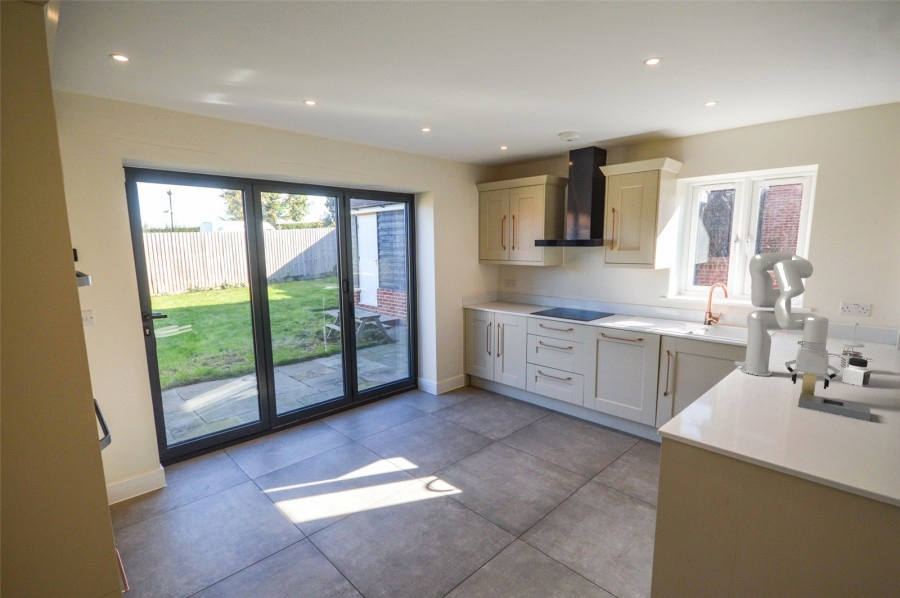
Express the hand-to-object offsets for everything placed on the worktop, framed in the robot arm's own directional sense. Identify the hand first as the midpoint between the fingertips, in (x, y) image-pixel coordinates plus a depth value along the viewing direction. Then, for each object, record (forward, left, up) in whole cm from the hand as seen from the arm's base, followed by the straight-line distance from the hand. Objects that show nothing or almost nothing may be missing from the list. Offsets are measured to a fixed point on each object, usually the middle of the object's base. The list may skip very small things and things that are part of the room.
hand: (809, 385), depth 172 cm
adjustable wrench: (+9, +98, -6) cm, 99 cm away
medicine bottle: (+15, +39, -5) cm, 42 cm away
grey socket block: (+8, -11, -5) cm, 14 cm away
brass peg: (0, 0, -5) cm, 5 cm away
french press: (+13, +66, -5) cm, 68 cm away
